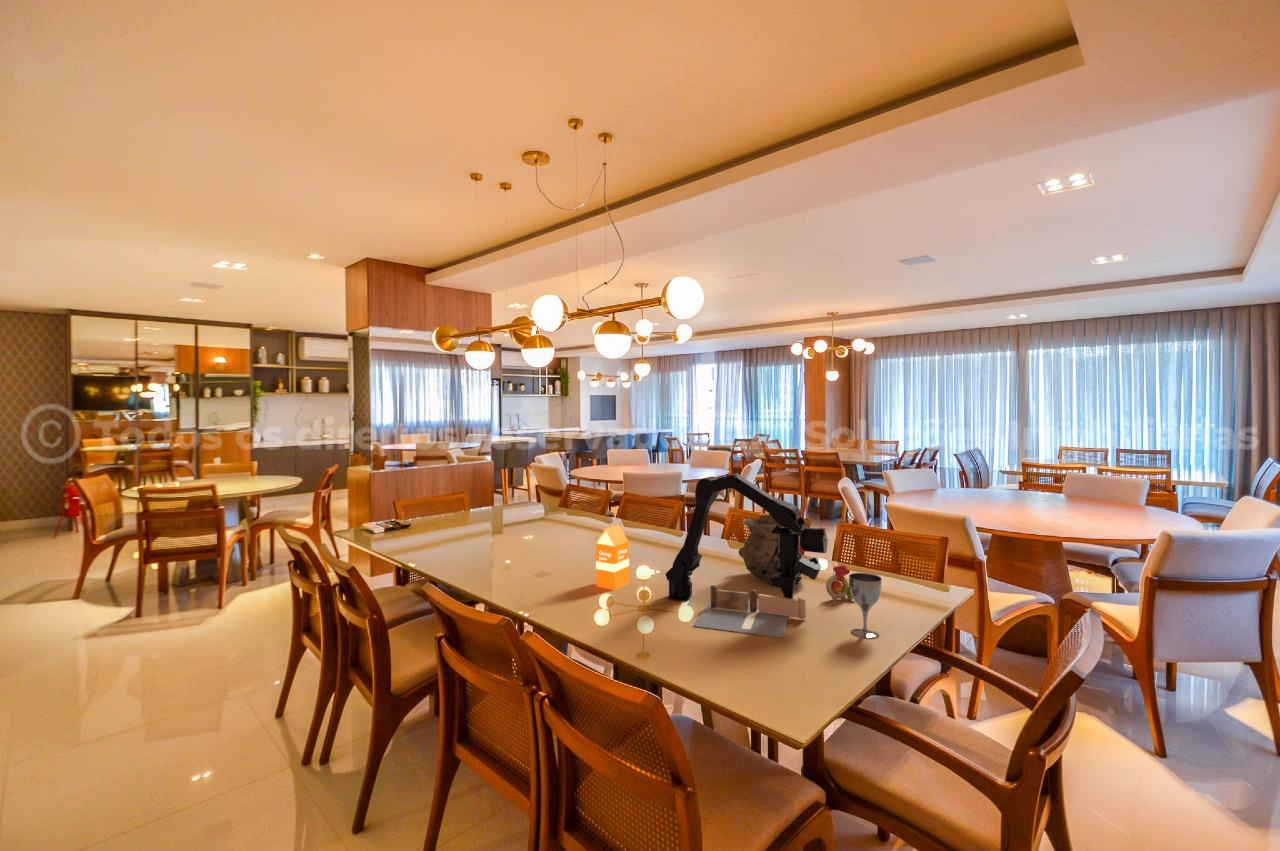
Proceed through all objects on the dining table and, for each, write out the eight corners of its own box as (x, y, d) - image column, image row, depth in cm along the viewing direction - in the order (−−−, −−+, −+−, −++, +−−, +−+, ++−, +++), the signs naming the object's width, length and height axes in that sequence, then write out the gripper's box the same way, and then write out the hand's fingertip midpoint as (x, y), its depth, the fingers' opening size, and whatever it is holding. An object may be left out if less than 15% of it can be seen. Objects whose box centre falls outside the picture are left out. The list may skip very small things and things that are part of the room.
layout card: (692, 626, 153) (692, 625, 153) (710, 600, 173) (710, 599, 173) (783, 638, 144) (783, 636, 144) (790, 609, 165) (790, 608, 165)
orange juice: (629, 583, 191) (629, 525, 191) (614, 590, 184) (614, 529, 183) (610, 579, 196) (610, 522, 195) (595, 586, 188) (595, 527, 188)
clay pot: (738, 568, 208) (737, 510, 207) (803, 570, 205) (803, 512, 204) (740, 589, 183) (740, 524, 183) (815, 592, 180) (815, 526, 179)
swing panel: (757, 612, 161) (757, 593, 161) (759, 609, 163) (759, 591, 163) (804, 619, 155) (804, 600, 155) (806, 616, 157) (806, 598, 157)
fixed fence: (710, 608, 166) (710, 587, 166) (711, 606, 168) (711, 585, 168) (756, 614, 162) (756, 591, 161) (757, 611, 163) (757, 589, 163)
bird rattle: (841, 610, 170) (864, 595, 172) (828, 578, 168) (851, 564, 171) (828, 603, 176) (851, 589, 178) (816, 572, 174) (839, 559, 177)
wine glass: (880, 629, 149) (880, 574, 149) (882, 641, 142) (882, 582, 141) (848, 626, 152) (848, 571, 152) (849, 637, 145) (849, 580, 144)
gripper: (811, 561, 147) (812, 619, 148) (824, 544, 164) (824, 597, 164) (769, 556, 153) (770, 612, 153) (785, 540, 169) (786, 591, 170)
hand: (789, 603), depth 160 cm, fingers closed
